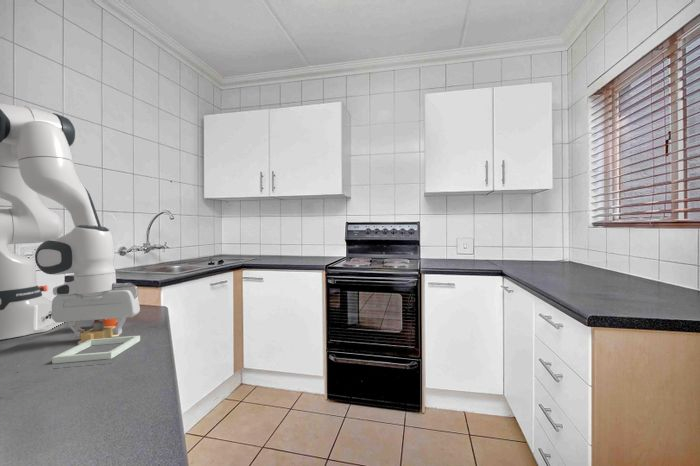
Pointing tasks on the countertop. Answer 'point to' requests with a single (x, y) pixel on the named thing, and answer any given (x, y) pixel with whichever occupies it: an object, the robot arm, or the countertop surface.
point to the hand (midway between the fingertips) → (98, 335)
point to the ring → (97, 334)
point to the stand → (98, 329)
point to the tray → (70, 357)
